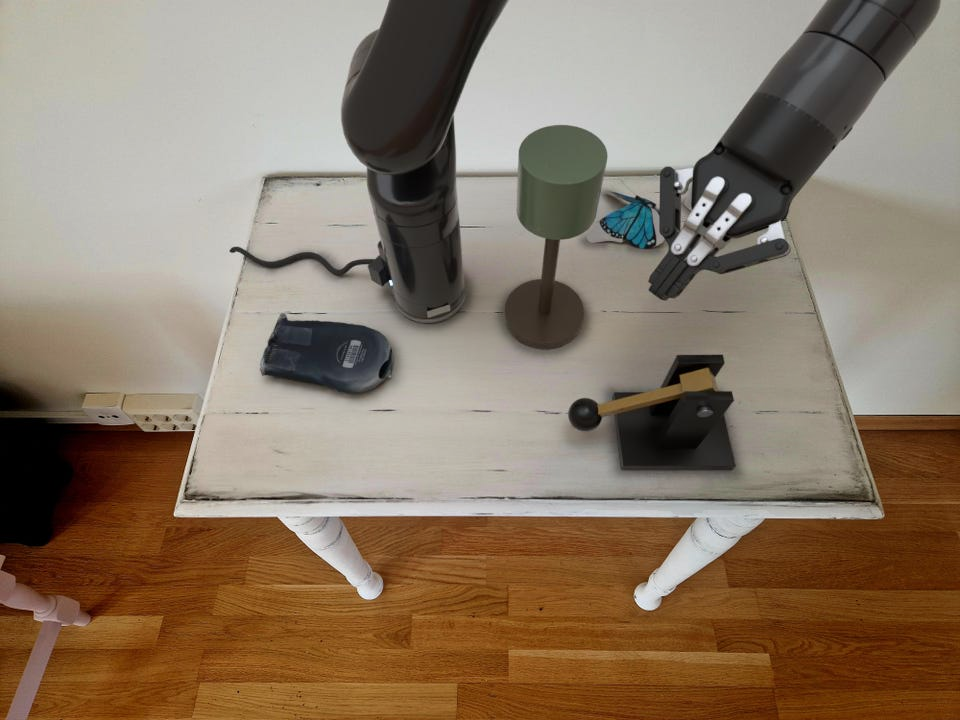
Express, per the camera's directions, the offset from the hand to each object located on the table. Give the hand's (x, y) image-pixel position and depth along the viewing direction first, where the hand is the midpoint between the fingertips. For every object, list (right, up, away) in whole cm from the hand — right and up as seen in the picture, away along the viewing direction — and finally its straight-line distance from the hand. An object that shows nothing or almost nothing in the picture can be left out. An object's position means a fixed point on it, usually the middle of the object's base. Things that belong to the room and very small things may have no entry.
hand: (657, 295), depth 51 cm
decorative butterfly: (+6, +13, +30) cm, 33 cm away
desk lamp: (-8, 0, +22) cm, 24 cm away
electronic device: (-34, -6, +20) cm, 40 cm away
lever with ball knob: (+1, -11, +9) cm, 14 cm away
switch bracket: (+6, -14, +14) cm, 20 cm away
